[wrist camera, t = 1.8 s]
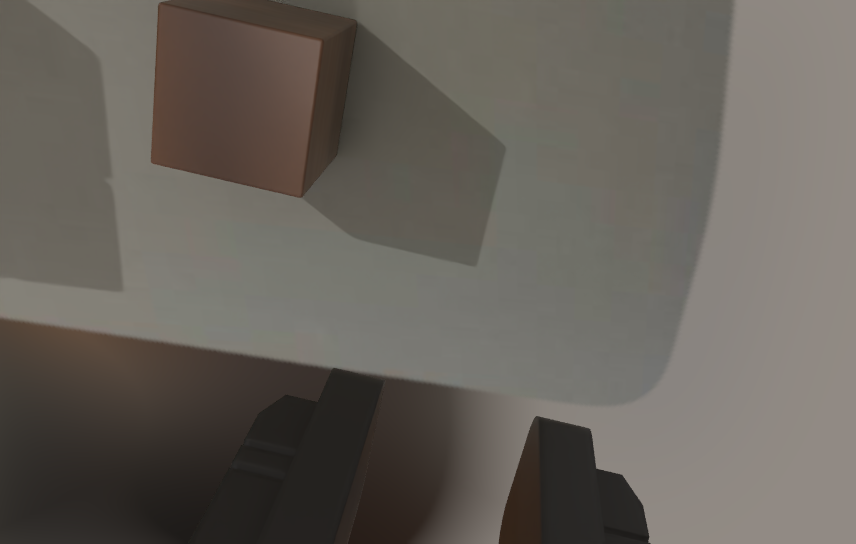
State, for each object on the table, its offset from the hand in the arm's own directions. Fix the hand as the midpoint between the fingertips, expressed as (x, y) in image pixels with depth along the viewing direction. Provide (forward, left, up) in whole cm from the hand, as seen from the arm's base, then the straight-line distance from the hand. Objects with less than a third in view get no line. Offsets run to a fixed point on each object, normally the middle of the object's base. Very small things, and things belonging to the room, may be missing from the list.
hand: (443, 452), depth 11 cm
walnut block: (+5, -7, -19) cm, 21 cm away
